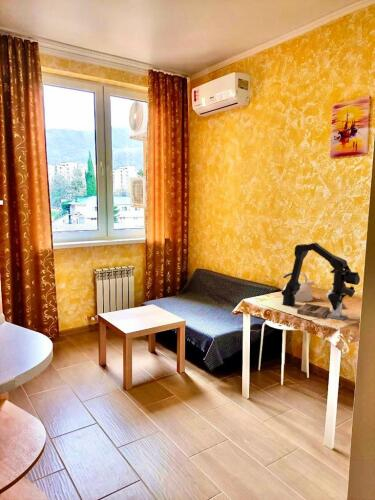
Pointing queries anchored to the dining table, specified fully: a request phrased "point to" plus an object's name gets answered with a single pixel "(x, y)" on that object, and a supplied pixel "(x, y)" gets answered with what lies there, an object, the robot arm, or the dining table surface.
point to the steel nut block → (337, 310)
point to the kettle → (303, 290)
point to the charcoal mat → (336, 317)
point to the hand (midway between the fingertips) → (337, 308)
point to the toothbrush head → (332, 292)
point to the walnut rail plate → (307, 311)
